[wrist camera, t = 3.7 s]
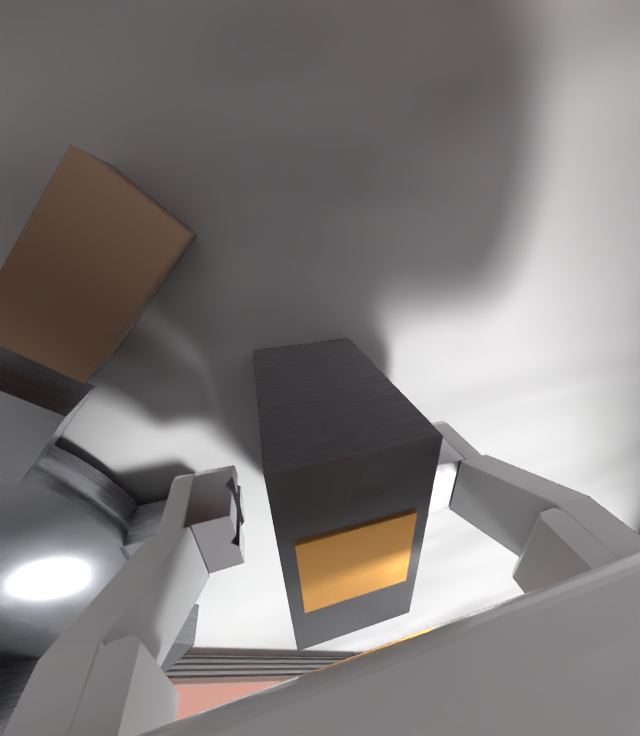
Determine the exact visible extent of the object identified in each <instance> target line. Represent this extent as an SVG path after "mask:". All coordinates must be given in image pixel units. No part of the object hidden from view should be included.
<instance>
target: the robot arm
mask: <svg viewBox="0 0 640 736" xmlns="http://www.w3.org/2000/svg"><path fill="white" fill-rule="evenodd" d="M431 424H432V425H433V426H434V427H435V428H436V429H437V430H438V431H439V432H440V433H441V434H442V435H443V440H442V445H441V450H440V455H439V460H438V466H437V471H436V476H435V481H434V486H433V491H432V496H431V502H430V507H429V512H432V511H436V510H440V509H444V508H448V507H450V509H451V510H452V511H453V512H455V513H456V514H458V515H459V516H461V517H462V518H464V519H465V520H467V521H468V522H469V523H471V524H472V525H474V526H475V527H477V528H478V529H480V530H481V531H483V532H484V533H485V534H487V535H488V536H490V537H491V538H493V539H494V540H496V541H497V542H499V543H500V544H501V545H503V546H504V547H506V548H507V549H509V550H510V551H512V552H513V553H515V554H516V555H517V556H519V559H518V561H517V563H516V566H515V568H514V570H513V578H514V580H515V581H516V582H517V584H518V585H519V586H520V588H521V589H522V590H523V591H524V593H525V594H522V595H520V596H517V597H514V598H511V599H509V600H506V601H503V602H501V603H498V604H495V605H492V606H490V607H487V608H484V609H481V610H479V611H476V612H473V613H470V614H468V615H465V616H462V617H459V618H457V619H454V620H451V621H448V622H446V623H443V624H440V625H437V626H435V627H432V628H429V629H426V630H424V631H421V632H418V633H416V634H413V635H410V636H407V637H405V638H402V639H399V640H396V641H394V642H391V643H388V644H385V645H383V646H380V647H377V648H374V649H372V650H369V651H366V652H363V653H361V654H358V655H355V656H352V657H350V658H347V659H344V660H341V661H339V662H336V663H333V664H331V665H328V666H325V667H322V668H320V669H317V670H314V671H311V672H309V673H306V674H303V675H300V676H298V677H295V678H292V679H289V680H287V681H284V682H281V683H278V684H276V685H273V686H270V687H267V688H265V689H262V690H259V691H257V692H254V693H251V694H248V695H246V696H243V697H240V698H237V699H235V700H232V701H229V702H226V703H224V704H221V705H218V706H215V707H213V708H210V709H207V710H204V711H202V712H199V713H196V714H194V715H191V716H188V717H185V718H183V719H180V720H177V721H176V717H177V709H178V701H179V692H178V691H177V689H176V688H175V687H174V685H173V684H172V683H171V681H170V680H169V679H168V677H167V676H166V674H165V673H164V672H163V670H162V669H161V668H160V667H161V665H162V663H163V661H164V659H165V658H166V656H167V654H168V652H169V650H170V648H171V646H172V645H173V643H174V641H175V639H176V637H177V635H178V633H179V632H180V630H181V628H182V626H183V624H184V622H185V620H186V619H187V617H188V615H189V613H190V611H191V609H192V607H193V606H194V604H195V602H196V600H197V598H198V596H199V594H200V593H201V591H202V589H203V587H204V585H205V583H206V581H207V579H208V578H209V573H213V572H216V571H219V570H222V569H226V568H229V567H232V566H235V565H239V564H242V563H244V535H243V531H242V527H241V526H242V524H243V523H244V505H243V497H242V491H241V487H240V486H239V485H237V477H238V475H237V472H236V468H235V466H234V465H233V466H227V467H222V468H216V469H211V470H206V471H200V472H196V473H192V474H186V475H181V476H176V477H175V479H174V480H173V482H172V485H171V488H170V492H169V495H168V499H167V502H166V506H165V509H164V512H163V516H162V519H161V523H160V526H159V530H158V533H157V535H153V536H150V537H149V538H148V539H147V541H146V542H145V543H144V544H143V545H142V546H141V547H140V548H139V549H138V550H137V552H136V553H135V554H134V555H133V556H132V557H131V558H130V559H129V560H128V562H127V563H126V564H125V565H124V566H123V567H122V568H121V569H120V570H119V572H118V573H117V574H116V575H115V576H114V577H113V578H112V579H111V580H110V582H109V583H108V584H107V585H106V586H105V587H104V588H103V589H102V590H101V591H100V593H99V594H98V595H97V596H96V597H95V598H94V599H93V600H92V601H91V603H90V604H89V605H88V606H87V607H86V608H85V609H84V610H83V611H82V613H81V614H80V615H79V616H78V617H77V618H76V619H75V620H74V621H73V622H72V624H71V625H70V626H69V627H68V628H67V629H66V630H65V631H64V632H63V634H62V635H61V636H60V637H59V638H58V639H57V640H56V641H55V642H54V644H53V645H52V646H51V647H50V648H49V649H48V650H47V651H46V652H45V654H44V655H43V656H42V657H41V658H40V659H39V660H38V662H37V664H36V666H35V668H34V670H33V672H32V674H31V676H30V679H29V681H28V683H27V685H26V687H25V689H24V691H23V693H22V695H21V697H20V699H19V701H18V703H17V705H16V708H15V710H14V712H13V714H12V716H11V718H10V720H9V722H8V724H7V726H6V728H5V730H4V732H3V734H2V736H640V535H639V534H637V533H636V532H635V531H633V530H632V529H631V528H630V527H628V526H627V525H626V524H624V523H623V522H622V521H620V520H619V519H618V518H617V517H615V516H614V515H613V514H611V513H610V512H609V511H608V510H606V509H605V508H604V507H602V506H601V505H600V504H598V503H597V502H596V501H595V500H593V499H592V498H591V497H589V496H587V495H585V494H582V493H580V492H577V491H575V490H572V489H570V488H567V487H565V486H562V485H560V484H557V483H555V482H553V481H550V480H548V479H545V478H543V477H540V476H538V475H535V474H533V473H530V472H528V471H525V470H523V469H520V468H518V467H515V466H513V465H511V464H508V463H506V462H503V461H501V460H498V459H496V458H493V457H491V456H488V455H483V456H482V455H481V454H479V453H478V452H477V451H476V450H475V449H474V448H473V447H472V446H471V445H470V444H469V443H468V442H467V441H466V440H465V439H463V438H462V437H461V436H460V435H459V434H458V433H457V432H456V431H455V430H454V429H453V428H452V427H451V426H450V425H449V424H447V423H446V422H444V421H440V422H436V423H431Z"/></svg>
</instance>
